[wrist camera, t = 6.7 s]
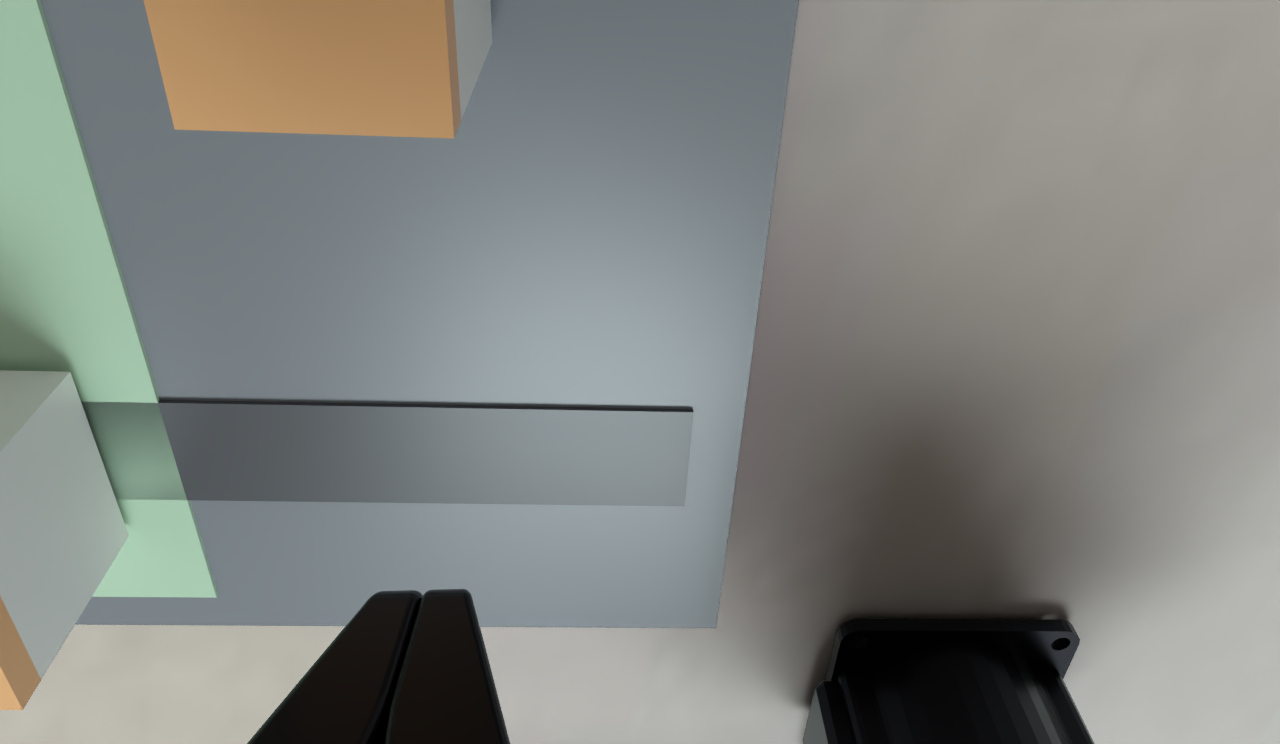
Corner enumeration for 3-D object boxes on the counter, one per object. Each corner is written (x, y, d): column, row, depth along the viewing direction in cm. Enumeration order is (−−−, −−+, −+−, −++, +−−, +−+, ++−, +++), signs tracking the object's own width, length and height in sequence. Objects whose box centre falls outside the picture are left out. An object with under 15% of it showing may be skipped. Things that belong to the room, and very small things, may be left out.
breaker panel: (831, -545, 12) (881, -609, 10) (706, 550, 23) (716, 631, 21) (-445, -633, 11) (-689, -723, 9) (53, 543, 23) (-6, 627, 20)
